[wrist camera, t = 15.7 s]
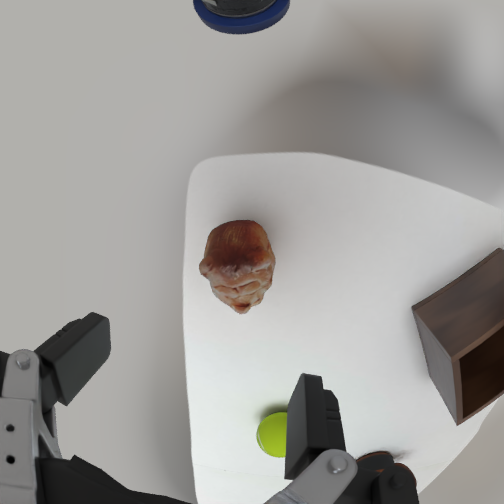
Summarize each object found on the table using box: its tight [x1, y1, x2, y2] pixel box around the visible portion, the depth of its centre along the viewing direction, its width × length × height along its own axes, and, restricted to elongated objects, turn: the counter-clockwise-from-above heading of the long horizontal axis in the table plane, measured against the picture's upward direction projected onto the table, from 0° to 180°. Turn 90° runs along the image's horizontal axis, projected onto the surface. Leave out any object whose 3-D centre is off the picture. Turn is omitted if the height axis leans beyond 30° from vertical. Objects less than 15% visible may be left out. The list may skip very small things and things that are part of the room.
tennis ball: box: [257, 412, 287, 457], centre depth 33 cm, size 7×7×7 cm
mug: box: [356, 452, 417, 485], centre depth 33 cm, size 9×12×12 cm
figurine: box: [199, 220, 275, 314], centre depth 23 cm, size 6×8×15 cm
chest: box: [412, 248, 504, 426], centre depth 24 cm, size 16×14×11 cm
